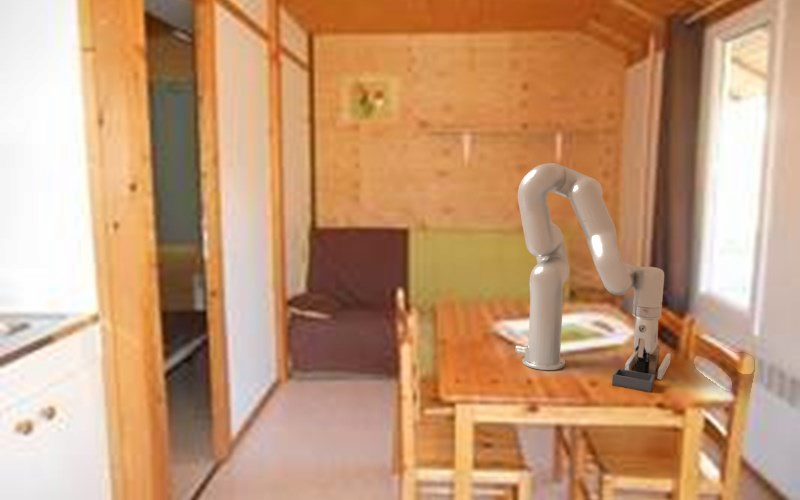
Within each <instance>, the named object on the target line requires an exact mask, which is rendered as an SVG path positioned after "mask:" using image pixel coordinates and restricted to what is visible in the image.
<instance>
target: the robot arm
mask: <svg viewBox="0 0 800 500" xmlns="http://www.w3.org/2000/svg"><path fill="white" fill-rule="evenodd" d="M551 193H554V194H556V195H559V196H561V197H563V198H566V199H568V200H569V202H570V205H571V207H572V209H573V211H574V213H575V215H576V218H577V221H578V223H579V225H580V227H581V229H582V232H583V234H584V236H585V239H586V243H587V246H588V249H589V252H590V255H591V258H592V261H593V264H594V266H595V269H596V271H597V274H598V276H599V278H600V280H601V282H602V284H603V287H604V288H605V289H606V290H607V292H609V293H611V294H612V295H614V296H623V295H626V294H627V293H628V292H629V291H630V290H631V289H632V290H633V292H634V293H633V304H632V316H633V318H635V324H634V325H635V326H634V334H633V335H634V336H633V352H634V351H635V352H637V350H638V353H637V362H636V364H635V365H636V367H635V368H636V369H635V371H636V372H641V373H647V374H648V373H649V363H650V360H649V358H650V354H652V353H653V352H654V350H655V349H656V347H657V346H658V335H659V334H658V333H659V332H658V330H659V319H661V318H662V312H663V311H662V308H663V298H664V297H663V295H664V283H665V272H664V270H663V269H661V268H659V267H656V266H655V267H654V266H639V265H633V264H629V263H625V262H624V260H623V257H622V255H621V252H620V248H619V245H618V239H617V238H618V237H617V229H616V226H615V223H614V221H613V218H612V217H611V215H610V212H609V209H608V208H607V205H606V203H605V200H604V198H603V194H604V192H603V186H602V185H601V183H600V182H599V181H598V180H597V179H595V178H593V177H591V176H589V175H586V174H583V173H581V172H578V171H577V170H574V169H571V168H569V167H567V166H564V165H563V164H560V163H553V162H549V163H543V164H539V165H536V166H535V167H533V168H531V169H530V171H528V172H527V173H526V174H525V175H524V176H523V178H522V179H521V180H520V183H519V186H518V190H517V203H518V207H519V208H518V209H519V213H520V217H521V225H522V230H523V235H524V243H525V247H526V249H527V251H528V252H529V253H530V254H531V255H532V256H534V257H535V259H536V263H537V264H536V265H535V266H534V267H533V268H532V270H531V272H530V275H529V281H528V282H529V283H528V286H529V321H528V322H529V323H528V324H529V326H528V345H526V346H523V345H518V344H516V345H515V349H514V350H515V352H516V354H519V355H523V356H522V363H523V364H524V366H527V367H529V368H531V369H534V370H535V369H536V370H540V371H556V370H560V369H562V368H564V367H565V366H566V360H565V359H564V358H562V357H561V346H562V342H561V341H562V327H563V305H564V304H563V287H564V284H565V283H566V282H567V281H568V279H569V276H570V271H571V270H570V264H569V259H568V254H567V253H568V252H567V248H566V247H567V246H566V242H565V239H564V235H563V233H562V230H561V228H559V226H558V225H556V224H555V223H553V221H552V217H551V209H550V206H549V203H548V195H549V194H551Z"/></svg>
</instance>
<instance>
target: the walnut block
mask: <svg viewBox="0 0 800 500" xmlns="http://www.w3.org/2000/svg"><path fill="white" fill-rule="evenodd" d="M660 348H661V345H657V347H656V349H655V350H654V352H653V353H652V354H650V358H649V360H650V363H649V373H648V374H652V375H655V376H656V373H657V372H658V368H659V367H658V366H659V362H660V350H661V349H660Z"/></svg>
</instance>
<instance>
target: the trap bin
mask: <svg viewBox="0 0 800 500" xmlns="http://www.w3.org/2000/svg"><path fill="white" fill-rule="evenodd" d="M655 376H656V374H655V375H652V374H647V373H641V372H636V370H631V371H630V370H625V368H616V370H615V371H614V373H613V374H612V379H611V381H612V382H611V385H612V386H616V387H619V388H624V389H630V390H635V391H640V392H641V391H642V392H647V393H651V391H652V390H653V388H654V386H655Z"/></svg>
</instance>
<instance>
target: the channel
mask: <svg viewBox="0 0 800 500" xmlns="http://www.w3.org/2000/svg"><path fill="white" fill-rule="evenodd" d="M637 353H638V350H637V352H635V351H634V350H633V352H632V354H631V355H630V356H629V358H628V359H627V361H626V362H625V363H624V370H630V371H632V369H633V368H634V366H635V365H636V364H637ZM671 356H672V355H671V353H666V355H665V357H664V358H663V360H662V361H661V364H660V365H659V367H658V368H657V378H656V379H657V380H661V381H662V379H663V377H664V375H665V373H666V372H667V369H668V368H669V366H670V364H671Z"/></svg>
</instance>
